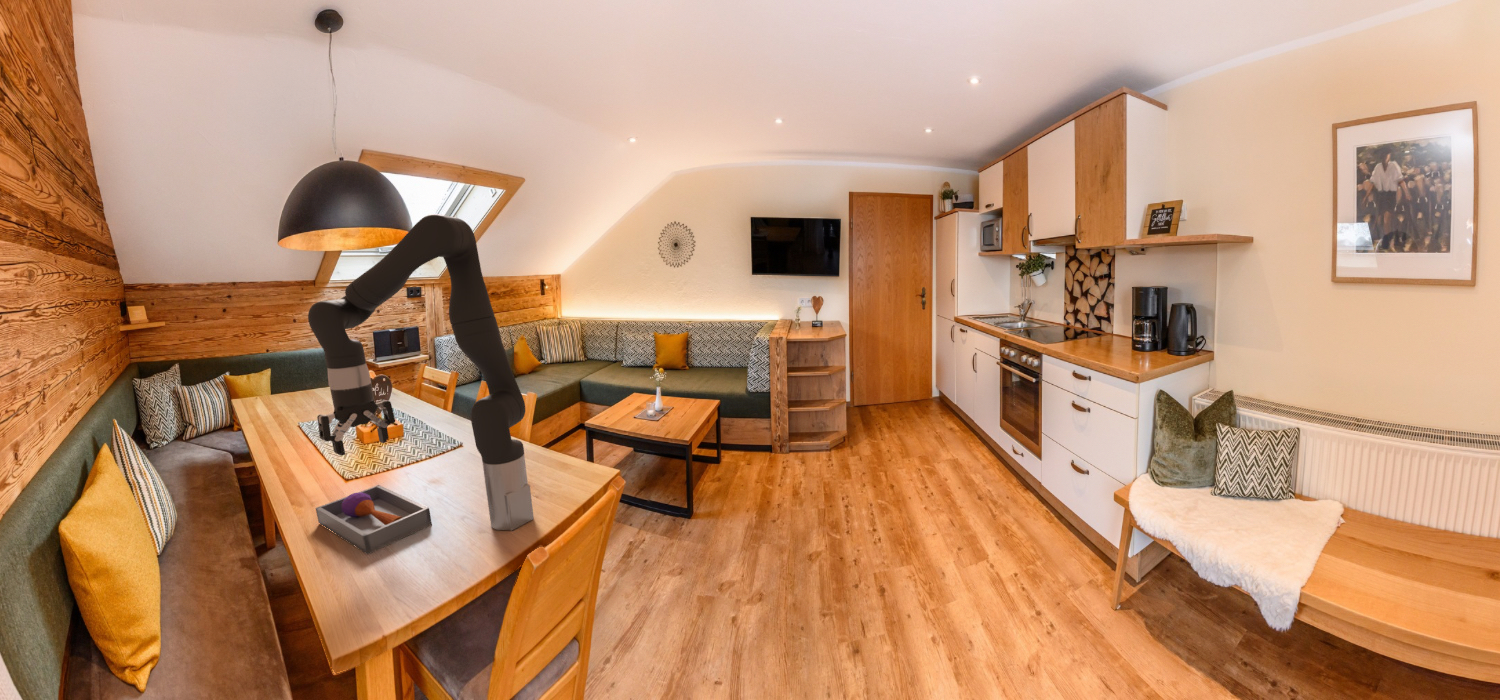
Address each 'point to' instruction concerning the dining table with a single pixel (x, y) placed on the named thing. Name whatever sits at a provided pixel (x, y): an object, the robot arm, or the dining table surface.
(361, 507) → the purple and brown maraca
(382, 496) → the box
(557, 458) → the dining table surface
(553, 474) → the dining table surface
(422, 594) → the dining table surface
